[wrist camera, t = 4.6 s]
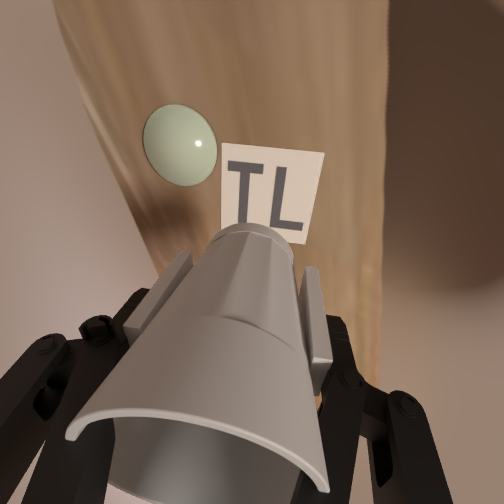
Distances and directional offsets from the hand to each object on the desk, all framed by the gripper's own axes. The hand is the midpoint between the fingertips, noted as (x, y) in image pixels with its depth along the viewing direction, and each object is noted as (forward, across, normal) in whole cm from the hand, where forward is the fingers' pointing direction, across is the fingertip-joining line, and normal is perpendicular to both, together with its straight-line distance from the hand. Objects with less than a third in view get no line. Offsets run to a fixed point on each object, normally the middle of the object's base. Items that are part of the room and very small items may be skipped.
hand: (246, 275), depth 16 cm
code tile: (+18, 0, -1) cm, 18 cm away
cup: (+2, 0, 0) cm, 2 cm away
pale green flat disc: (+18, -11, +4) cm, 21 cm away
